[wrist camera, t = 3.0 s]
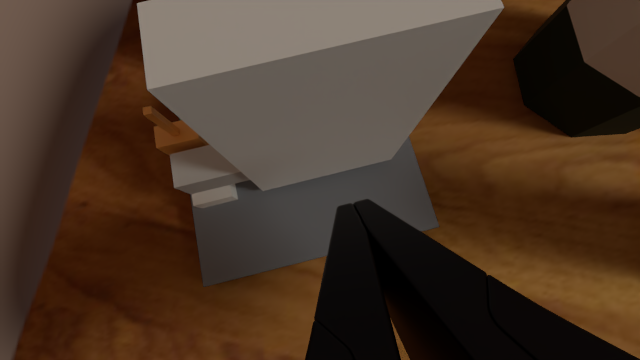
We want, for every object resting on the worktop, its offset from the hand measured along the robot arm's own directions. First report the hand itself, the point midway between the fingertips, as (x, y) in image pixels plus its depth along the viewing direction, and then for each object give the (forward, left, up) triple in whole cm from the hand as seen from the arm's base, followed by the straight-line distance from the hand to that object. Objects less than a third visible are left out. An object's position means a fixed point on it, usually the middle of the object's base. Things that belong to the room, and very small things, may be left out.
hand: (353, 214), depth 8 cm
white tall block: (+2, +3, -7) cm, 8 cm away
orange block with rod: (+1, +8, -6) cm, 10 cm away
